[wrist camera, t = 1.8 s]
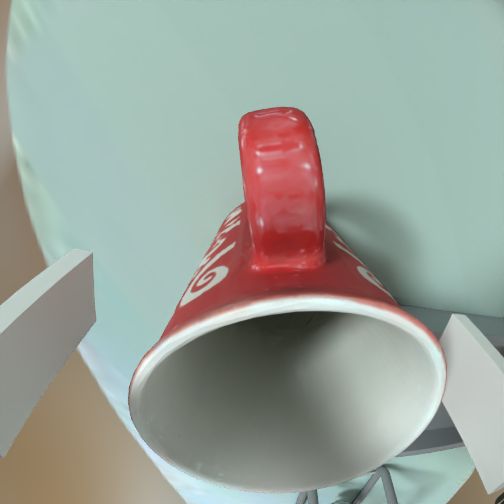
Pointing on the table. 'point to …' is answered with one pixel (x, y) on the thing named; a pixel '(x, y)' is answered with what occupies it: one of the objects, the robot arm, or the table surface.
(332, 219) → the table surface
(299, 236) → the mug
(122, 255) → the table surface
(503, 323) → the tray
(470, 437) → the robot arm
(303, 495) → the newton's cradle
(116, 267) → the table surface
